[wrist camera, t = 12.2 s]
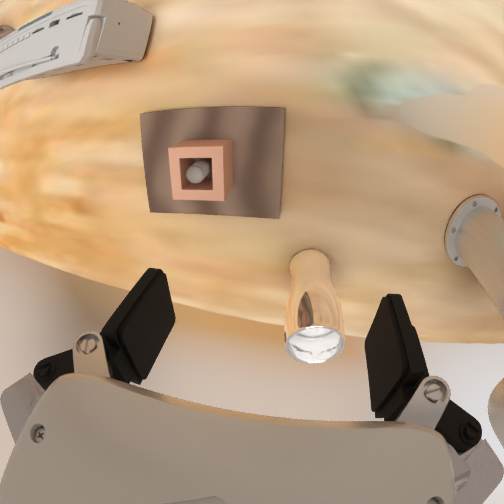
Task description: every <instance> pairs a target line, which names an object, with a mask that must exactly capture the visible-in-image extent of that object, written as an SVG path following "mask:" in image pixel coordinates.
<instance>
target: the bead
mask: <svg viewBox="0 0 504 504" xmlns="http://www.w3.org/2000/svg"><path fill="white" fill-rule="evenodd" d="M168 153H169V165H170V176H171V187H172V196H173V200H208V201H225V199H226V198H227V196H228V194H229V192H230V191H231V189H232V187H233V149H232V139H212V140H184V141H182V142H180V143H178V144H176V145H173V146H171V147H169V148H168ZM194 158H212V177H205V178H204V179H203V180H202V181H201V182H199V183H191V182H190V181H189V180H188V179H187V177H186V172H187V170H188V168H189V167H190V166H192V165H193V164H194V163H195V159H194Z"/></svg>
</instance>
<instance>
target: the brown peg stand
mask: <svg viewBox="0 0 504 504" xmlns="http://www.w3.org/2000/svg"><path fill="white" fill-rule="evenodd" d="M284 120H285V108H279V107H203V108H188V109H175V110H165V111H157V112H149V113H142V114H140V123H141V137H142V149H143V160H144V169H145V178H146V186H147V193H148V201H149V207H150V212H156V213H185V214H207V215H227V216H244V217H259V218H274V219H279V217H280V201H281V184H282V165H283V144H284ZM212 139H232V149H233V187H232V189H231V191H230V192H229V194H228V196H227V198H226V199H225V201H208V200H173V196H172V187H171V176H170V165H169V153H168V148H169V147H171V146H173V145H176V144H178V143H180V142H182V141H184V140H212ZM194 159H195V163H194V164H193V165H192V166H190V167H189V168H188V170H187V172H186V177H187V179H188V180H189V181H190V182H191V183H199V182H201V181H202V180H203V179H204V178H205V177H212V158H194Z"/></svg>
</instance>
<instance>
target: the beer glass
mask: <svg viewBox="0 0 504 504" xmlns="http://www.w3.org/2000/svg"><path fill="white" fill-rule="evenodd" d="M289 269H290V274H291V277H292V285H291V289H290V292H289V295H288V299H287V303H286V307H285V315H284V337H285V350H286V353H287V354H288V355H289V356H290V357H291V358H292V359H294V360H296V361H299V362H302V363H310V364H314V363H322V362H326V361H329V360H331V359H333V358H335V357H336V356H338V355H339V354H340V353H341V352H342V351H343V349H344V347H345V331H344V318H343V312H342V307H341V303H340V301H339V298H338V295H337V293H336V291H335V289H334V287H333V285H332V283H331V280H330V262H329V259H328V258H327V256H326V255H325V254H324V253H322V252H320V251H318V250H313V249H308V250H303V251H301V252H299V253H297V254H296V255H295V256H294V257H293V258H292V260H291V262H290V266H289Z"/></svg>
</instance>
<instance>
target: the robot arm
mask: <svg viewBox="0 0 504 504" xmlns="http://www.w3.org/2000/svg"><path fill="white" fill-rule="evenodd" d="M445 248H446V252H447V254H448V256H449V258H450V259H451V260H452V262H453V263H455V264H456V265H458V266H461V267H469V269H470V270H471V271H472V273H473V274H474V275H475V277H476V278H477V280H478V281H479V282H480V284H481V285H482V287H483V288H484V290H485V291H486V293H487V294H488V296H489V297H490V299H491V300H492V302H493V303H494V305H495V306H496V308H497V310H498V311H499V313H500V314H501V316H502V317H503V319H504V220H503V219H502V216H501V211H500V209H499V206H498V205H497V203H496V202H495V201H493V200H492V199H491V198H489V197H488V196H485V195H476V196H472V197H470V198H468V199H467V200H465V201H464V202H463V203H462V204H461V205H460V206H459V207H458V208H457V209H456V211H455V212H454V214H453V215H452V217H451V219H450V221H449V223H448V226H447V229H446V234H445ZM174 323H175V313H174V309H173V304H172V300H171V296H170V291H169V286H168V282H167V277H166V274H165V273H163V271H162V270H161V269H155V268H148V269H147V271H146V272H145V273H144V274H143V276H142V277H141V278H140V279H139V281H138V282H137V283H136V284H135V286H134V287H133V288H132V290H131V291H130V292H129V293H128V295H127V296H126V297H125V299H124V300H123V301H122V303H121V304H120V305H119V307H118V308H117V309H116V311H115V312H114V314H113V315H112V316H111V318H110V319H109V320H108V322H107V323H106V324H105V326H104V327H103V329H102V331H101V332H100V334H99V333H97V332H95V331H88V332H84V333H82V334H80V335H79V336H78V337H77V338H76V339H75V341H74V343H73V349H71V350H68V351H65V352H62V353H59V354H56V355H53V356H50V357H48V358H45V359H43V360H41V361H40V362H38V363H37V365H36V366H35V369H34V374H33V375H32V374H31V373H29V374H27V375H26V376H25V377H23V378H22V379H20V380H19V381H17V382H16V383H14V384H13V385H11V386H10V387H8V388H7V389H5V390H4V391H3V393H2V395H1V399H0V400H1V405H2V409H3V412H4V415H5V417H6V421H7V423H8V426H9V429H10V431H11V434H12V437H13V439H14V441H15V446H14V448H13V451H12V453H11V456H10V458H9V461H8V463H7V466H6V469H5V471H4V474H3V477H2V480H1V483H0V504H482V503H483V502H484V501H485V500H486V499H487V498H488V496H489V495H490V494H491V493H492V492H493V490H494V489H495V488H496V487H497V486H498V484H499V483H500V481H501V480H502V478H503V474H504V468H503V466H502V464H501V462H500V461H499V459H498V457H497V456H496V454H495V453H494V451H493V450H492V448H491V447H490V445H489V444H488V443H487V441H486V439H484V440H482V439H481V436H482V429H481V425H480V423H479V422H478V421H477V420H476V419H475V418H474V417H473V416H471V415H470V414H469V413H467V412H466V411H465V410H463V409H462V408H461V407H459V406H458V405H457V404H455V403H454V402H453V401H451V400H450V395H451V394H450V388H449V385H448V384H447V383H446V381H444V380H443V379H442V378H440V377H438V376H429V373H428V369H427V366H426V362H425V358H424V355H423V352H422V348H421V345H420V342H419V338H418V335H417V332H416V329H415V327H414V326H413V325H411V322H410V319H409V316H408V313H407V310H406V307H405V304H404V301H403V299H402V296H401V295H400V294H387V296H386V297H383V298H382V300H381V303H380V305H379V308H378V310H377V313H376V316H375V318H374V321H373V323H372V325H371V328H370V330H369V333H368V335H367V337H366V340H365V353H366V360H367V369H368V377H369V387H370V399H371V409H372V411H373V412H375V418H384V421H363V422H362V421H361V422H360V421H319V420H302V419H291V418H281V417H271V416H264V415H257V414H250V413H244V412H238V411H232V410H227V409H222V408H217V407H212V406H207V405H203V404H198V403H194V402H190V401H186V400H182V399H178V398H174V397H171V396H167V395H163V394H160V393H157V392H153V391H150V390H147V389H144V388H140V387H137V386H134V385H131V384H129V383H130V381H131V382H133V383H136V384H139V385H140V384H141V382H142V380H143V379H146V378H147V376H148V374H149V372H150V370H151V368H152V366H153V364H154V362H155V360H156V358H157V356H158V355H159V353H160V351H161V349H162V347H163V345H164V342H165V341H166V339H167V337H168V335H169V333H170V331H171V329H172V327H173V325H174ZM488 415H489V420H490V423H491V425H492V428H493V430H494V432H495V434H496V435H497V438H498V439H499V441H500V443H501V444H502V446H503V448H504V378H503V379H502V380H501V381H500V382H499V383H498V385H497V386H496V387H495V388H494V390H493V391H492V393H491V395H490V398H489V402H488Z"/></svg>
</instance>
